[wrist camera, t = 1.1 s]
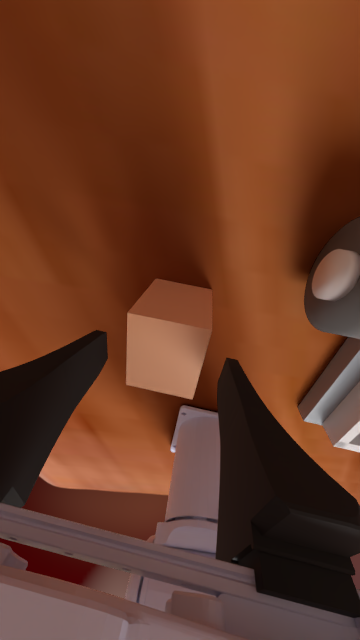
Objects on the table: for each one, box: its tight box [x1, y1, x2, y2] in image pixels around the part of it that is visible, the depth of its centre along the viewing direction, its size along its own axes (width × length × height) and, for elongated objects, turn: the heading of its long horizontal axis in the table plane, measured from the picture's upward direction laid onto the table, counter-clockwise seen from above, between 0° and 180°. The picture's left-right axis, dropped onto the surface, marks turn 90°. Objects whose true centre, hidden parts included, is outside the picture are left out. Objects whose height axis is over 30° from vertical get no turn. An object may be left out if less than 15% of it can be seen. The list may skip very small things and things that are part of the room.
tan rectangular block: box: [126, 278, 212, 400], centre depth 14 cm, size 6×4×6 cm
